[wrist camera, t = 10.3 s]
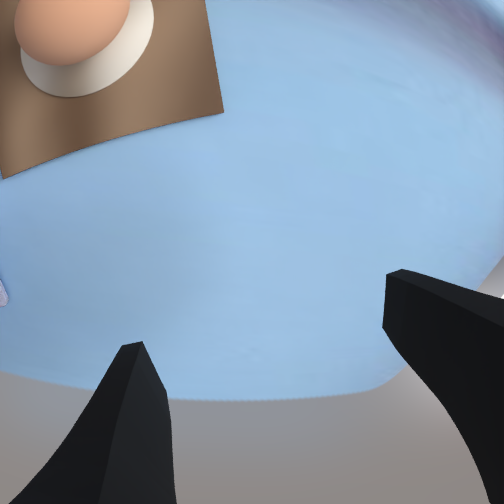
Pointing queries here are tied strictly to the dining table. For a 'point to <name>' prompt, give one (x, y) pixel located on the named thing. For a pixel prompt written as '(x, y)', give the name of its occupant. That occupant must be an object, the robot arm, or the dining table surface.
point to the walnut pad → (106, 84)
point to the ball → (68, 28)
